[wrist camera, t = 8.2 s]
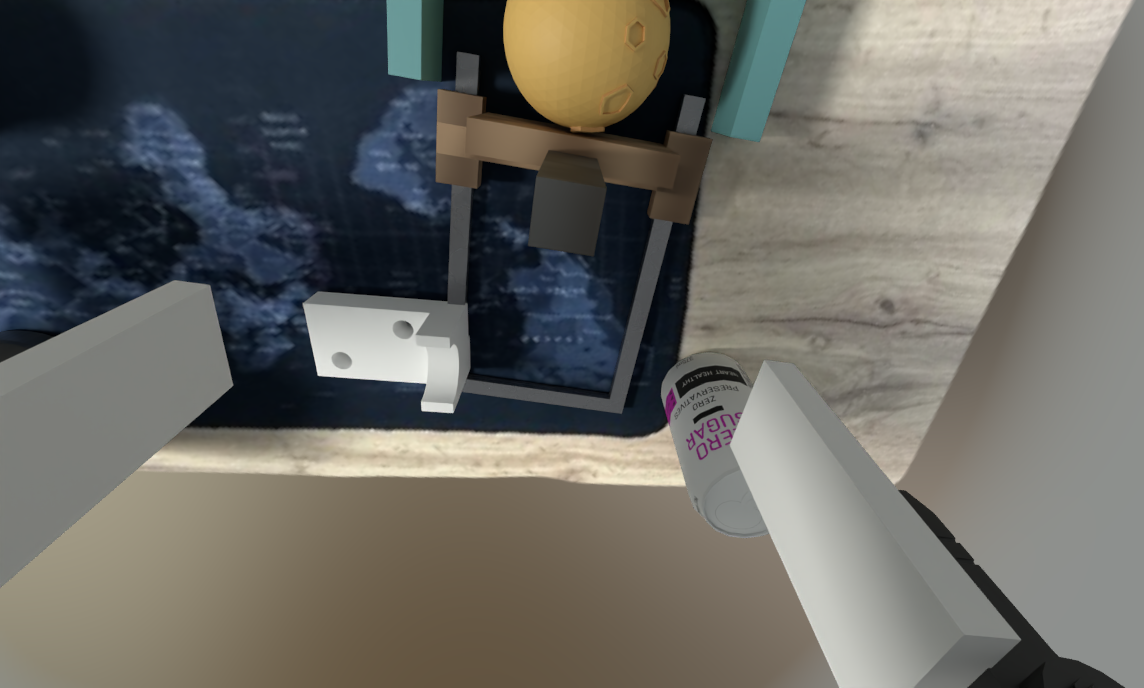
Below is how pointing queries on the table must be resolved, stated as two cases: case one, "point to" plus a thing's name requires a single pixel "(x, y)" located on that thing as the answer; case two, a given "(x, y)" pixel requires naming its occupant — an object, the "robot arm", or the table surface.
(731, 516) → the supplement can
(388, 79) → the table surface
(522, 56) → the stress ball
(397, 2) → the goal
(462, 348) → the bracket
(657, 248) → the rails
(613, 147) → the carriage
